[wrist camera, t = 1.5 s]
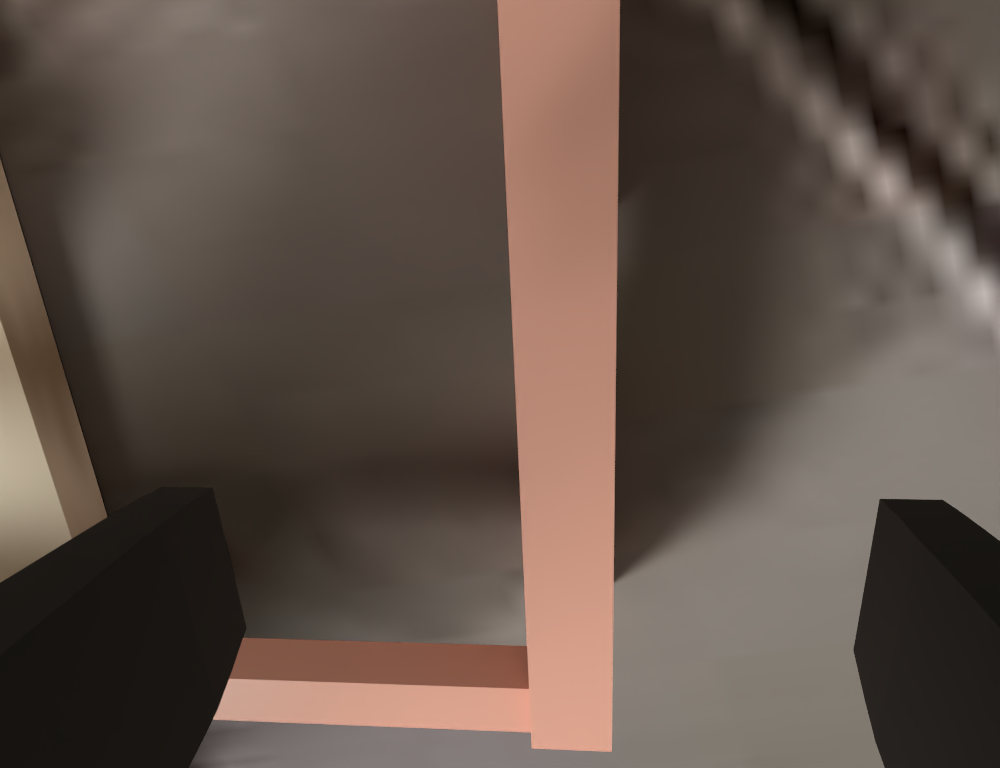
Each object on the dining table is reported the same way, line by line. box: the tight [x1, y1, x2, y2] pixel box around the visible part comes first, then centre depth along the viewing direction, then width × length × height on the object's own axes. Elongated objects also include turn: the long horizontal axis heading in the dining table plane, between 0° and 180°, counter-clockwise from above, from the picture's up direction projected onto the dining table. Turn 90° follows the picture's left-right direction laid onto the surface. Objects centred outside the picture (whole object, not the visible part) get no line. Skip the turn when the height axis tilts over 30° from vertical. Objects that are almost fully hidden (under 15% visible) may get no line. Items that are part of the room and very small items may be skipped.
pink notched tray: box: [213, 0, 620, 752], centre depth 16 cm, size 16×11×5 cm
